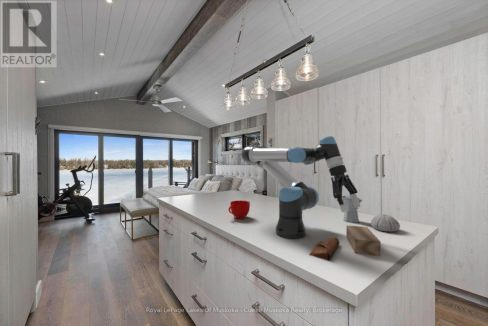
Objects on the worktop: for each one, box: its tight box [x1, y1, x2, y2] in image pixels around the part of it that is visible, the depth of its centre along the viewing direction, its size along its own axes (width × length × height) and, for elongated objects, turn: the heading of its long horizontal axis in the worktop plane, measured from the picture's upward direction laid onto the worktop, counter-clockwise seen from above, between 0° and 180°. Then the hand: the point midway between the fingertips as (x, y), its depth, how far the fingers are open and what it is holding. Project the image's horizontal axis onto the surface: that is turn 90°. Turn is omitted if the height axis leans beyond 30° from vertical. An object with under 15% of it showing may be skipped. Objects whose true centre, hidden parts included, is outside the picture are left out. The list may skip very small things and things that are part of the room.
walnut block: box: [345, 225, 382, 257], centre depth 93 cm, size 9×19×6 cm, turn 163°
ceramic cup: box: [227, 199, 251, 220], centre depth 136 cm, size 13×17×10 cm
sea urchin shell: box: [370, 214, 401, 233], centre depth 114 cm, size 13×14×8 cm
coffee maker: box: [336, 193, 363, 224], centre depth 131 cm, size 15×9×18 cm, turn 48°
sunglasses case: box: [308, 236, 340, 261], centre depth 87 cm, size 18×7×7 cm
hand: (351, 209), depth 98 cm, fingers open, 13 cm apart
